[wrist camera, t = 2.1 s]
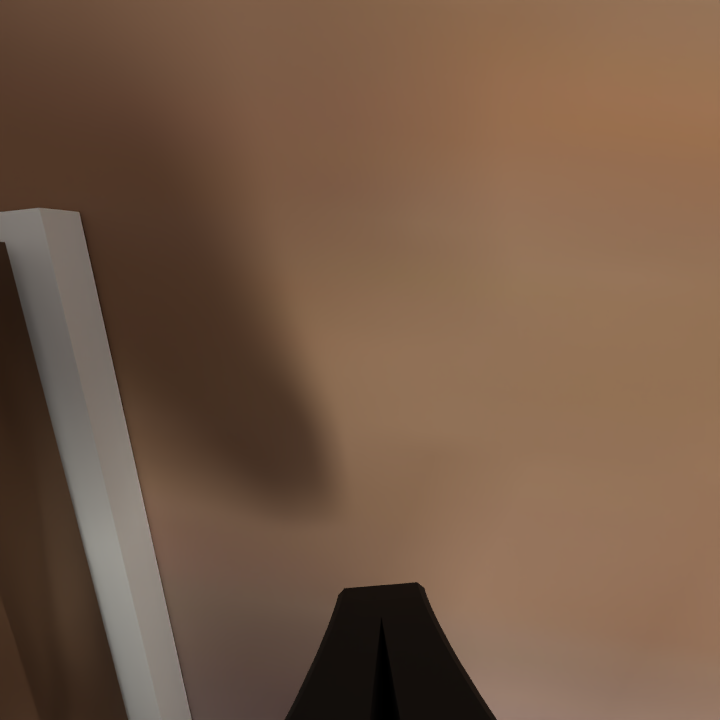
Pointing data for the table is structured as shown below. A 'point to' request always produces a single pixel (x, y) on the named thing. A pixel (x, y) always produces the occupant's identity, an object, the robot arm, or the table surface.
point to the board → (96, 454)
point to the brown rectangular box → (42, 554)
